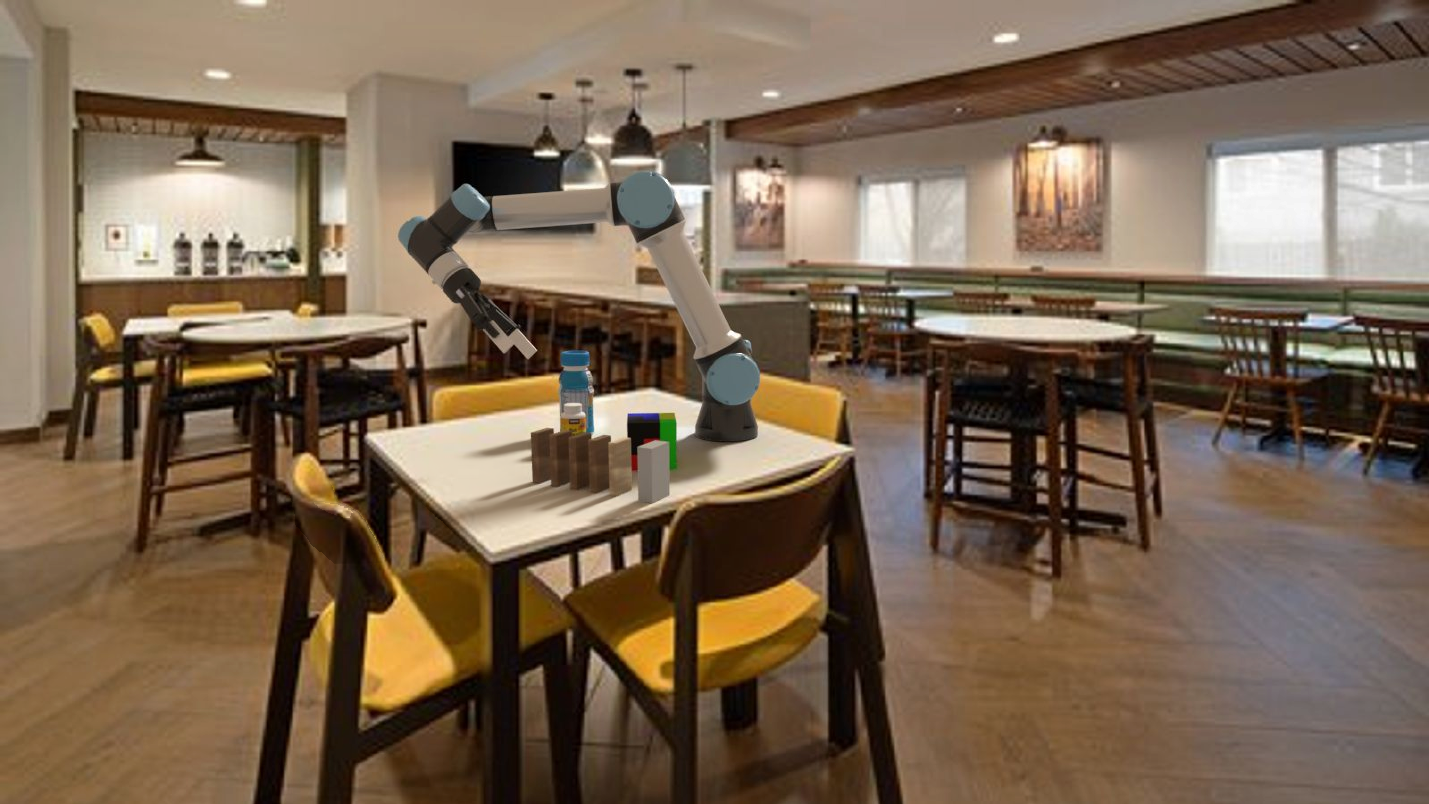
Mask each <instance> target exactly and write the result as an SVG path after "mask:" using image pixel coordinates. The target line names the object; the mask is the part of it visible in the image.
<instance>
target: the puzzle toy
mask: <svg viewBox="0 0 1429 804" xmlns="http://www.w3.org/2000/svg"><path fill="white" fill-rule="evenodd" d="M626 419H627V420H626V434H627V435H626V438H631V469H632V472H635V471H637V472H638V452H637V447H639V446H641V445H644V444H647V443H649V442H652V441H655V440H657V441H665V442H669V471H672V470H673V471H677V470H678V464H677V463H678V460H677V459H678V457H677V455H678V453H677V452H678V451H677V450H678V449H677V448H678V447H677V446H678V443H677V439H678V438H677V433H678V432H677V417H676V413H675V412H641V413H639V412H638V413H637V412H636V413H634V412H633V413H631V412H630V413H627V418H626Z"/></svg>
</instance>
